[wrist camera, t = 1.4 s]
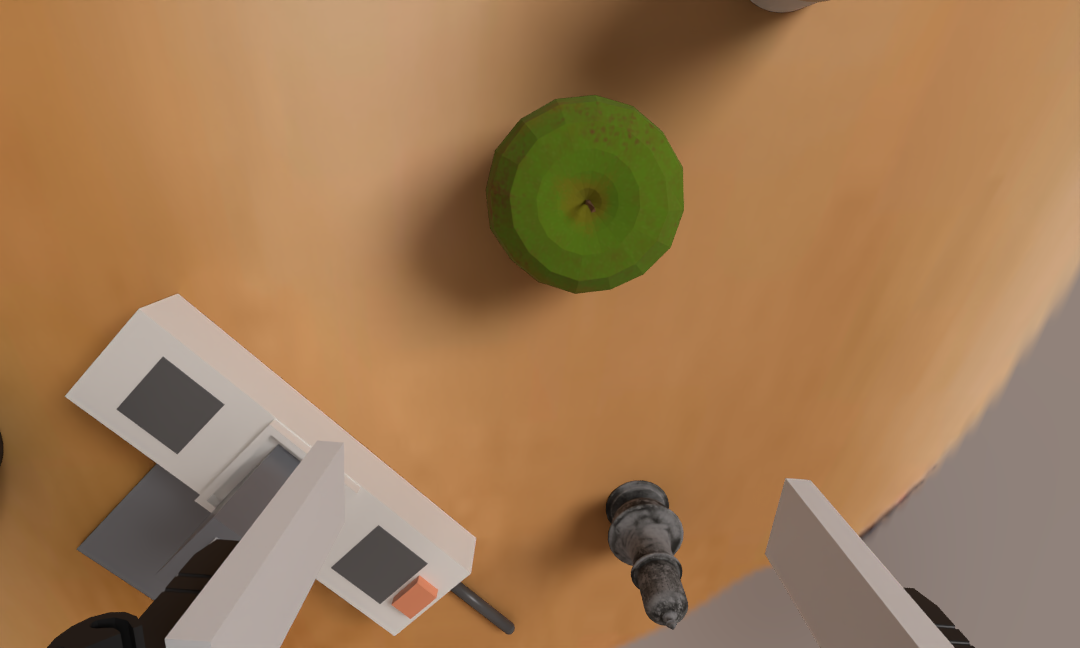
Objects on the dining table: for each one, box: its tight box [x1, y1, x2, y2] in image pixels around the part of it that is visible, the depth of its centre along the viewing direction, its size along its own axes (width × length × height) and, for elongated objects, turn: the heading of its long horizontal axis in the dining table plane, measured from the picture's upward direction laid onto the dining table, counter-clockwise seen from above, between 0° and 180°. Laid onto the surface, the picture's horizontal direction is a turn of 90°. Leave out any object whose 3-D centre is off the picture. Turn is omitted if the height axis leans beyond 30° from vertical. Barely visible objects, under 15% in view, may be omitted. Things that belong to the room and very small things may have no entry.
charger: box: [154, 444, 301, 586], centre depth 35 cm, size 5×6×8 cm
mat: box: [77, 464, 211, 600], centre depth 45 cm, size 12×12×1 cm
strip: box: [65, 294, 515, 636], centre depth 41 cm, size 39×9×5 cm, turn 44°
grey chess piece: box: [606, 481, 688, 630], centre depth 39 cm, size 6×6×12 cm
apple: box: [486, 95, 684, 294], centre depth 31 cm, size 11×11×11 cm
